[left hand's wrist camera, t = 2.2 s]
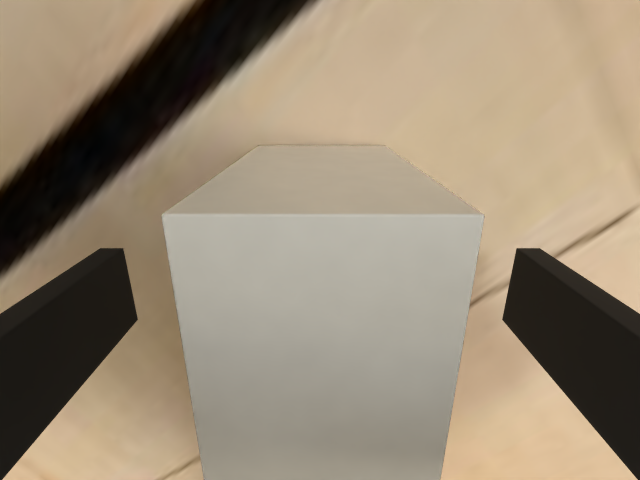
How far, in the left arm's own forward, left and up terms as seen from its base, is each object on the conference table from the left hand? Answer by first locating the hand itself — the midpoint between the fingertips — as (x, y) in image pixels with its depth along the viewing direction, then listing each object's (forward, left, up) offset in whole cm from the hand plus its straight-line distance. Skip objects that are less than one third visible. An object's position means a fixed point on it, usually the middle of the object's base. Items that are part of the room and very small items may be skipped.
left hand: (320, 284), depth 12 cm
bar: (+9, 0, -3) cm, 9 cm away
